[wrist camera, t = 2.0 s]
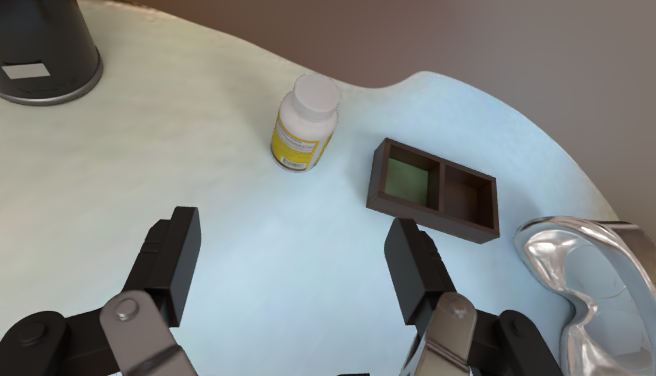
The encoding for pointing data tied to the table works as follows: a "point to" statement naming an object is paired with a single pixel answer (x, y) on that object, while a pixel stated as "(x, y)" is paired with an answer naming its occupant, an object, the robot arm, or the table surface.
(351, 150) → the table surface
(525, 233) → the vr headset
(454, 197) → the divided box
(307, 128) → the supplement bottle
